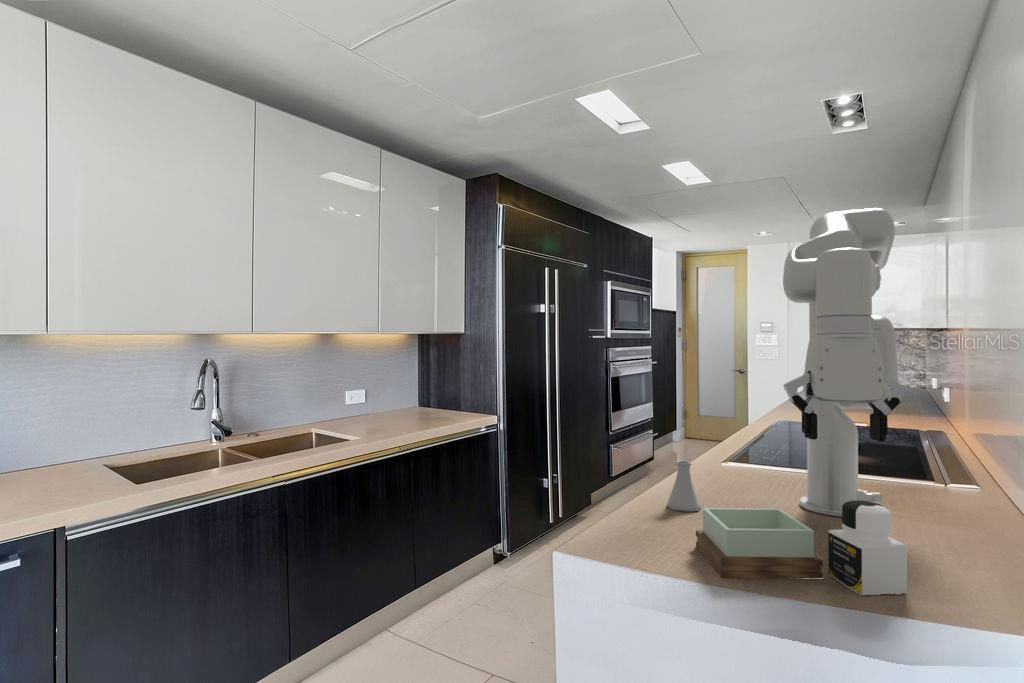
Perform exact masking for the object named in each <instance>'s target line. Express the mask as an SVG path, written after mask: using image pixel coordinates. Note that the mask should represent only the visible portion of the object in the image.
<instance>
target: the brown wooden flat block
mask: <svg viewBox="0 0 1024 683" xmlns="http://www.w3.org/2000/svg"><path fill="white" fill-rule="evenodd" d="M695 537H696V541H695V548H696V549H697V550H698V551H699V552H700V553H701V554H702V555H704V558H705V559H706V560H707V561H708V563H709V562H710V563H709V564H710V566H711V567H713V569H714V568H715V569H714V570H715V571H716V572H717V574H718V575H719V574H720V575H719V577H720V578H721V579H766V580H768V579H769V580H770V579H773V580H776V579H777V580H778V578H823V579H824V572H823V571H822V567H823V566H824V559H823V558H822V557H820V556H818V555H817V554H816V553H814V558H811V557H727V556H726V555H725V554H724V553H723V552H722V551H721V550H720V549H719V548H718V547H717V546H716V545H715V544H714V543H713V542H712V541H711V540H710V538H709V537H708V536H707V535H706V534H705V533H704V532H703V529H696V530H695Z"/></svg>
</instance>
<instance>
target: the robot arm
mask: <svg viewBox="0 0 1024 683" xmlns="http://www.w3.org/2000/svg"><path fill="white" fill-rule="evenodd" d="M895 231H896V230H895V222H894V219H893V217H892V215H891V214H890V212H889V211H888V210H886V209H883V208H878V207H873V208H864V209H851V210H844V211H843V210H841V211H833V212H829V213H825V214H823V215H821V216H819V217H818V218H817V219H816V220H814V221H813V223H812V225H811V227H810V231H809V239H807V240H804V241H803V242H801V243H800V244H798V245H797V246H794V247H793V248H792V249H791V250H790V251H789V252H788V253H787V255H786V257H785V261H784V266H783V275H782V276H783V277H782V286H783V292H784V294H785V296H786V298H788V300H790V301H792V302H794V303H796V304H797V303H798V304H808V306H809V308H808V312H809V313H808V314H809V316H808V320H809V324H808V326H809V342H808V345H807V349H806V356H805V362H804V363H805V364H804V371H803V374H802V375H800V376H798V377H796V378H793V379H791V380H790V381H787V382H785V383H784V384H783V389H784V391H785V393H786V395H787V396H788V398H789V400H790V402H791V403H792V404H793V405H794V406H795V407H796V408H798V410H799V412H801V432H802V433H803V434H804V437H805V438H806V439H807V440H806V441H807V442H806V443H807V445H806V446H807V447H806V448H807V449H806V450H807V452H806V454H807V455H806V456H807V463H806V464H807V467H806V468H807V470H806V471H807V474H806V475H807V476H806V477H807V480H806V481H807V482H806V483H807V486H806V487H807V495H806V496H802V497H800V498H799V506H801V508H804V509H806V510H808V511H810V512H814V513H817V514H822V515H827V516H834V517H841V518H842V505H843V504H844V503H845V502H849V501H854V500H859V501H869V502H874V503H881V502H883V495H882V494H881V493H880V492H868V491H867V490H862V489H860V488H859V432H858V428H857V425H856V424H855V421H853V420H852V418H851V417H850V416H848V415H847V414H846V412H845V411H844V409H871V410H872V411H873V413H870V414H869V438H870V439H871V440H873V441H877V442H881V443H882V442H883V443H884V442H886V436H887V435H888V428H889V427H888V416H890V415H892V411H893V410H895V409H896V407H898V406H899V405H900V404H901V400H902V399H903V397H904V395H905V393H906V391H907V387H906V386H905V385H903V384H901V383H900V381H899V380H900V379H899V366H898V352H897V339H896V331H895V327H894V325H893V323H892V322H891V320H890V319H889V318H887V317H886V316H883V315H873V308H872V307H873V303H872V302H873V297H874V295H875V294H876V293H877V292H878V291H879V289H880V288H881V280H882V276H881V275H882V274H881V270H883V269H884V267H886V264H887V263H888V259H889V256H890V253H891V250H892V247H893V245H894V240H895ZM801 387H802V389H803V395H804V398H803V397H802V396H800V394H799V392H798V389H799V388H801Z"/></svg>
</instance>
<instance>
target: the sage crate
mask: <svg viewBox="0 0 1024 683" xmlns="http://www.w3.org/2000/svg"><path fill="white" fill-rule="evenodd" d="M702 530H703V532H704V533H705V534H706V535H707V536H708V537H709V538H710V540H711V541H712V542H713V543H714V544H715V545H716V546H717V547H718V548H719V549H720V550H721V551H722V552H723V553H724V554H725V555H726V556H727V557H811V558H814V554H815V552H814V551H815V546H814V545H815V540H814V538H815V535H814V534H815V533H814V532H815V530H813V529H812V528H810V527H809V526H807V525H806V524H805V523H802V522H801V521H799V520H797V518H794V517H793V516H792V515H790V514H789V513H787V512H785V511H784V510H783V509H781V508H738V507H737V508H734V507H733V508H730V507H729V508H728V507H727V508H726V507H720V508H719V507H703V508H702Z"/></svg>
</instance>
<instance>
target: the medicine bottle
mask: <svg viewBox="0 0 1024 683" xmlns="http://www.w3.org/2000/svg"><path fill="white" fill-rule="evenodd" d="M891 517H892V516H891V510H890V509H889V508H888V507H886V506H884V505H882V504H880V503H878V502H871V501H859V500H854V501H849V502H845V503H844V504H843V505H842V517H841V527H842V529H829V530H828V531H827V532H828V540H827V541H828V547H827V548H828V551H827V552H828V553H827V554H828V576H829V577H830V578H832V577H833V578H832V579H833V580H835V579H836V580H835V581H837V582H838V581H839V582H838V583H840V584H842V585H843V584H844V586H845V587H846V586H847V587H846V588H847V589H849V590H851V591H853V592H854V591H855V592H854V593H855V594H857V593H858V594H857V595H859V596H861V595H863V596H862V597H865V596H864V595H872V596H881V595H880V594H891V593H892V594H894V593H906V594H907V592H908V578H907V577H908V571H907V570H908V568H907V567H908V566H907V564H908V563H907V562H908V561H907V560H908V558H907V557H908V555H907V554H908V553H907V552H908V551H907V549H908V548H907V547H908V546H907V544H906V543H903V542H902V541H898V540H897V539H894V538H892V537H891V536H892V535H891V534H892V529H891V528H892V525H891V522H892V520H891V519H892V518H891Z"/></svg>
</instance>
